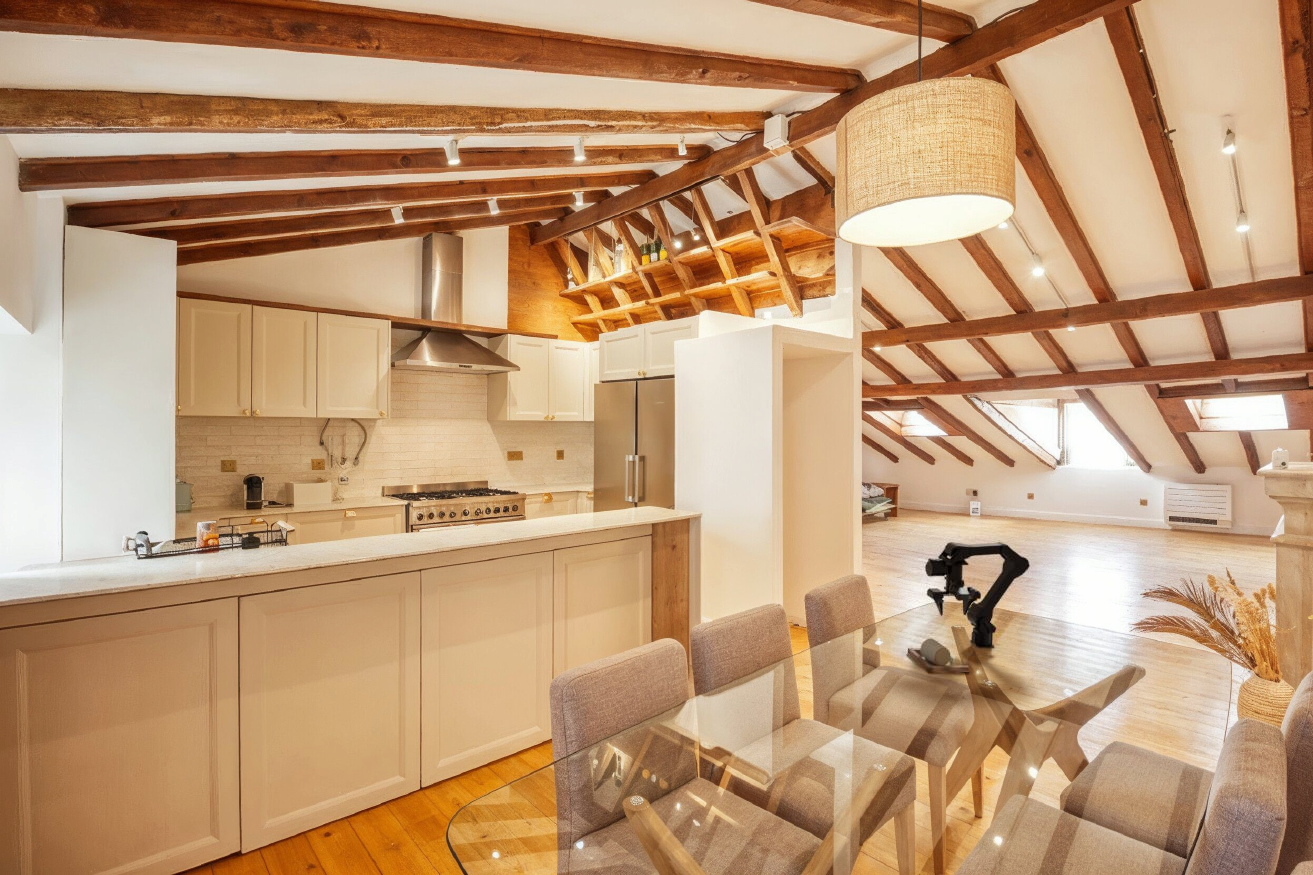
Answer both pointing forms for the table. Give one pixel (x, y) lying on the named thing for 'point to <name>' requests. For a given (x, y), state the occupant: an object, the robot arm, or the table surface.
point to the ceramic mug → (935, 652)
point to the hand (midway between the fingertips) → (953, 615)
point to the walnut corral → (916, 656)
